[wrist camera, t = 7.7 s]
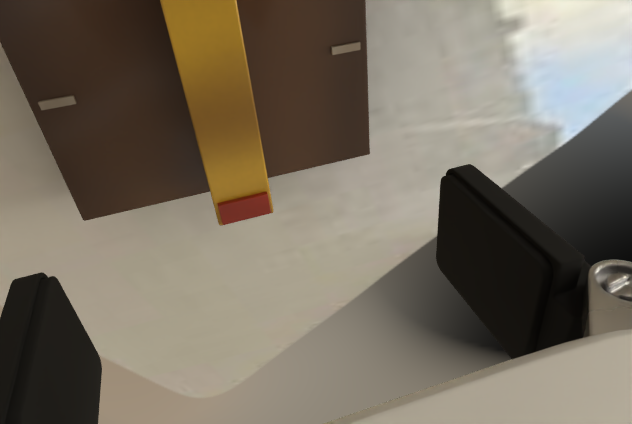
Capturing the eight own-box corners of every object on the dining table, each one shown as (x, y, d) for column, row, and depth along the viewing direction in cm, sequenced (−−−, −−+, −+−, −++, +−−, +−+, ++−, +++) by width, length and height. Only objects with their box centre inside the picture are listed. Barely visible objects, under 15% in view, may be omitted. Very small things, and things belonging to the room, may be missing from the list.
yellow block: (148, -49, 18) (151, -30, 15) (212, -58, 19) (230, -41, 15) (207, 175, 24) (220, 230, 21) (254, 164, 25) (275, 216, 21)
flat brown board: (337, -140, 21) (363, -142, 19) (351, 147, 30) (371, 173, 27) (-38, -98, 18) (-65, -93, 16) (95, 206, 27) (91, 240, 24)
